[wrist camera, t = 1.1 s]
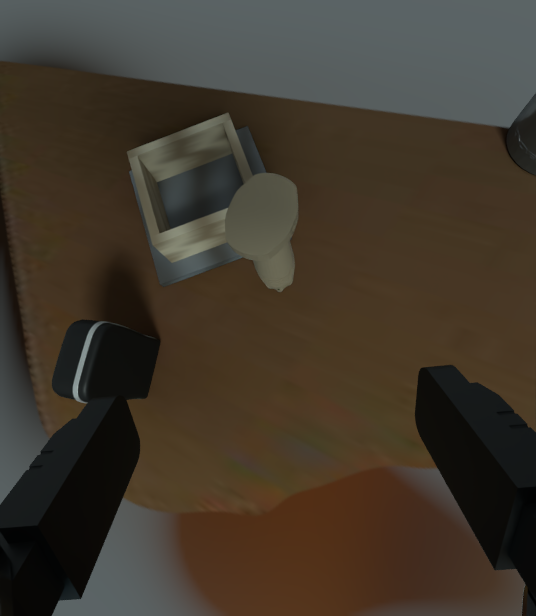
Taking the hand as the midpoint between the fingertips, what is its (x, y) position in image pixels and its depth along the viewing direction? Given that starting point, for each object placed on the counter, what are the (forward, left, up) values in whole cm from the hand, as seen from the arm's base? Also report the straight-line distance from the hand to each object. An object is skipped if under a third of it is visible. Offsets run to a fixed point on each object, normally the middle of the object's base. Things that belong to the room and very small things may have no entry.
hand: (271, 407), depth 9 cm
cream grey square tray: (+3, -24, -27) cm, 36 cm away
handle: (-2, -12, -27) cm, 30 cm away
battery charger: (+16, -8, -27) cm, 32 cm away
